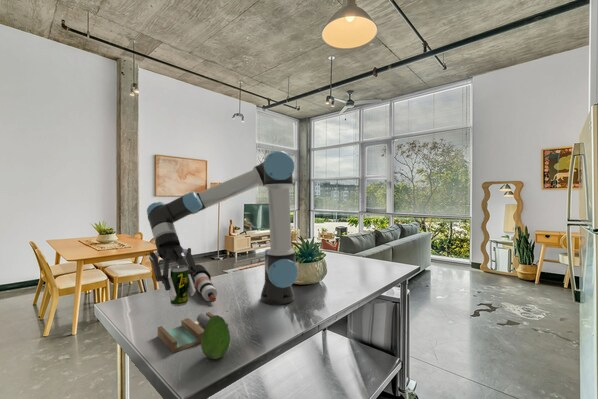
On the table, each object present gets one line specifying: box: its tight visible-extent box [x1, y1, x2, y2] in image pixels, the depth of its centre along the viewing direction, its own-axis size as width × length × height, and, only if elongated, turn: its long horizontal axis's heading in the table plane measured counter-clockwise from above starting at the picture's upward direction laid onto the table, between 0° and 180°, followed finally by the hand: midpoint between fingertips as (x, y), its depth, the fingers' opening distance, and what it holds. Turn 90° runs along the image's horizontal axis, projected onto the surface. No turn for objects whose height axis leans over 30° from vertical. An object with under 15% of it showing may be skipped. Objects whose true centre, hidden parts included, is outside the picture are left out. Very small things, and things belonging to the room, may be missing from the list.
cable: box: [193, 263, 218, 303], centre depth 133 cm, size 10×34×10 cm, turn 30°
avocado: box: [200, 314, 231, 360], centre depth 79 cm, size 8×8×12 cm
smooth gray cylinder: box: [196, 313, 210, 327], centre depth 95 cm, size 9×3×3 cm, turn 44°
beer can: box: [169, 264, 189, 307], centre depth 89 cm, size 5×5×12 cm
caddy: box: [157, 311, 229, 354], centre depth 92 cm, size 18×14×3 cm
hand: (183, 295), depth 87 cm, fingers closed on beer can, 5 cm apart
